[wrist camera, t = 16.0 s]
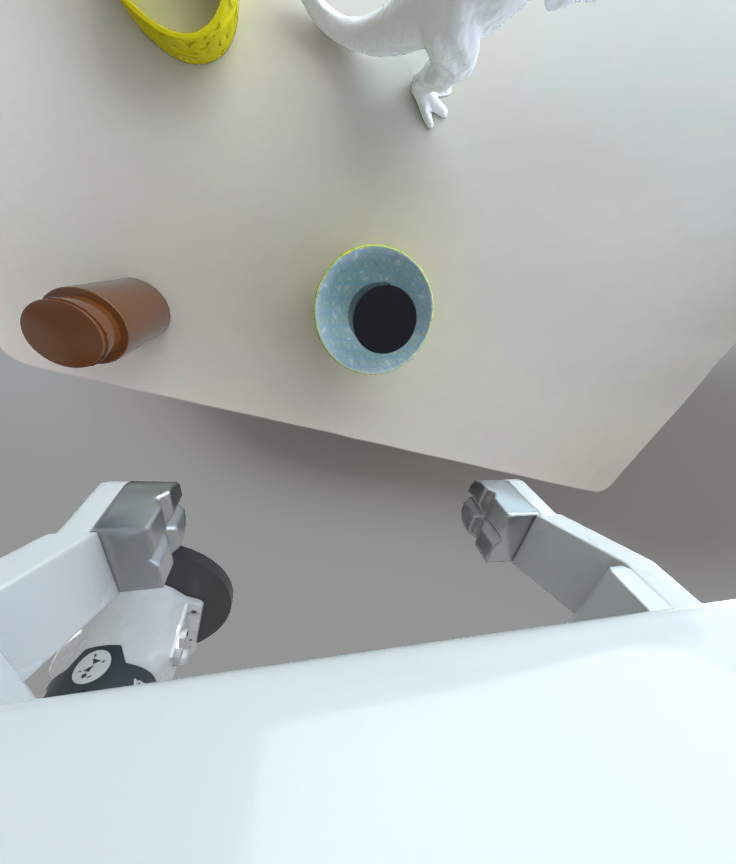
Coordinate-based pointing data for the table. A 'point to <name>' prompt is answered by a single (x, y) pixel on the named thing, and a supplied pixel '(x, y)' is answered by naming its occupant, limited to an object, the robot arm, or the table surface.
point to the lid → (382, 317)
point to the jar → (94, 321)
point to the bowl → (341, 288)
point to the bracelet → (192, 34)
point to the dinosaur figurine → (424, 37)
